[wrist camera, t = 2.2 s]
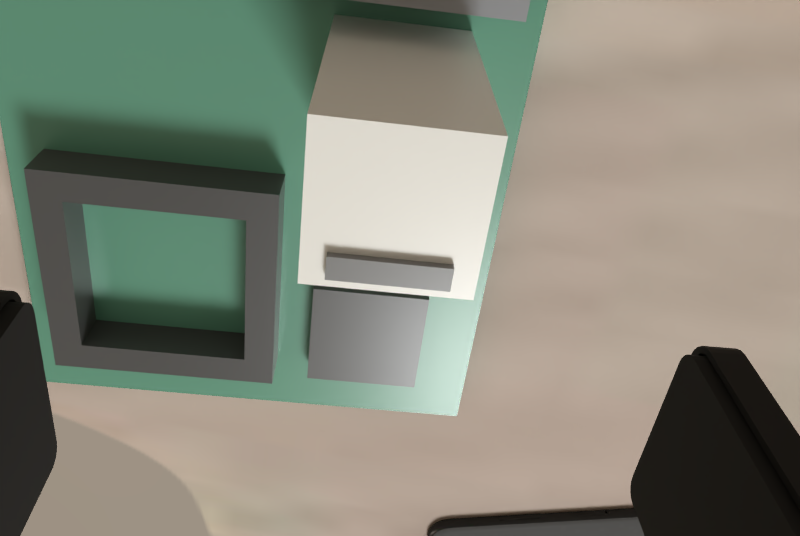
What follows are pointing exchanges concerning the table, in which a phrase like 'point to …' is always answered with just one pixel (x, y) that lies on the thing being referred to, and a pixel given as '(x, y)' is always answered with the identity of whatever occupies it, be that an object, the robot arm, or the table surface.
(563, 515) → the smartphone
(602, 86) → the table surface
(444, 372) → the board
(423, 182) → the plug
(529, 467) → the table surface
